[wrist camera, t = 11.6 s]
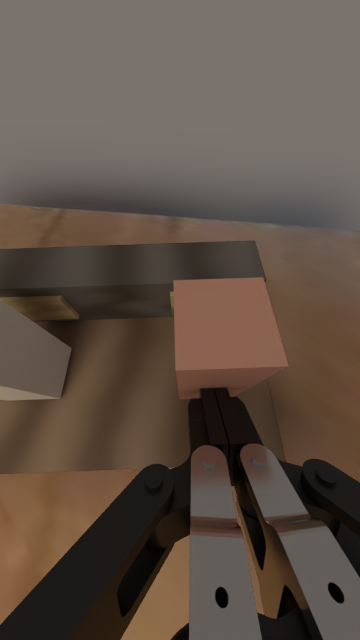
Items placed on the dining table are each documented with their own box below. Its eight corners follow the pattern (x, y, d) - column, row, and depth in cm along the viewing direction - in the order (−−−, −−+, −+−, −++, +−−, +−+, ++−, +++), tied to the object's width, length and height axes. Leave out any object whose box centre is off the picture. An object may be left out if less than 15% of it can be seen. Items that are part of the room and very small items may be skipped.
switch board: (-45, 473, 14) (-182, 502, 9) (27, 289, 22) (-23, 244, 16) (279, 460, 14) (337, 481, 9) (240, 281, 22) (259, 235, 16)
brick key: (179, 399, 15) (175, 370, 7) (177, 348, 17) (173, 280, 9) (232, 397, 15) (288, 366, 7) (225, 347, 17) (263, 277, 9)
